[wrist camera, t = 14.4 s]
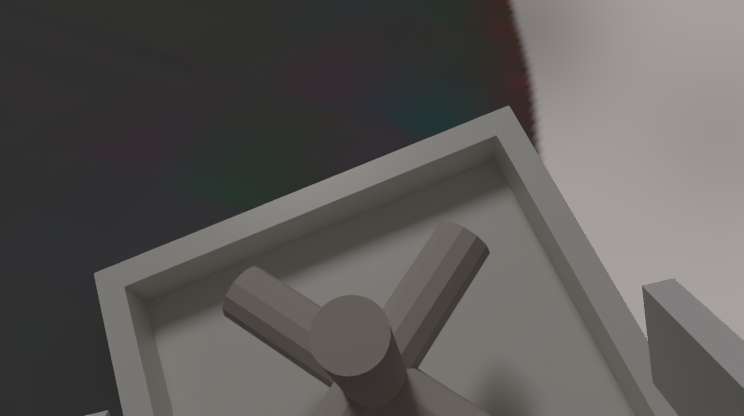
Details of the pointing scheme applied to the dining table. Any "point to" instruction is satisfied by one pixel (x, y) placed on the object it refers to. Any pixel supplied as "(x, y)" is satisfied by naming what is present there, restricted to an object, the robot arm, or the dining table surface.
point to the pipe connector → (369, 331)
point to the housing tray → (390, 290)
